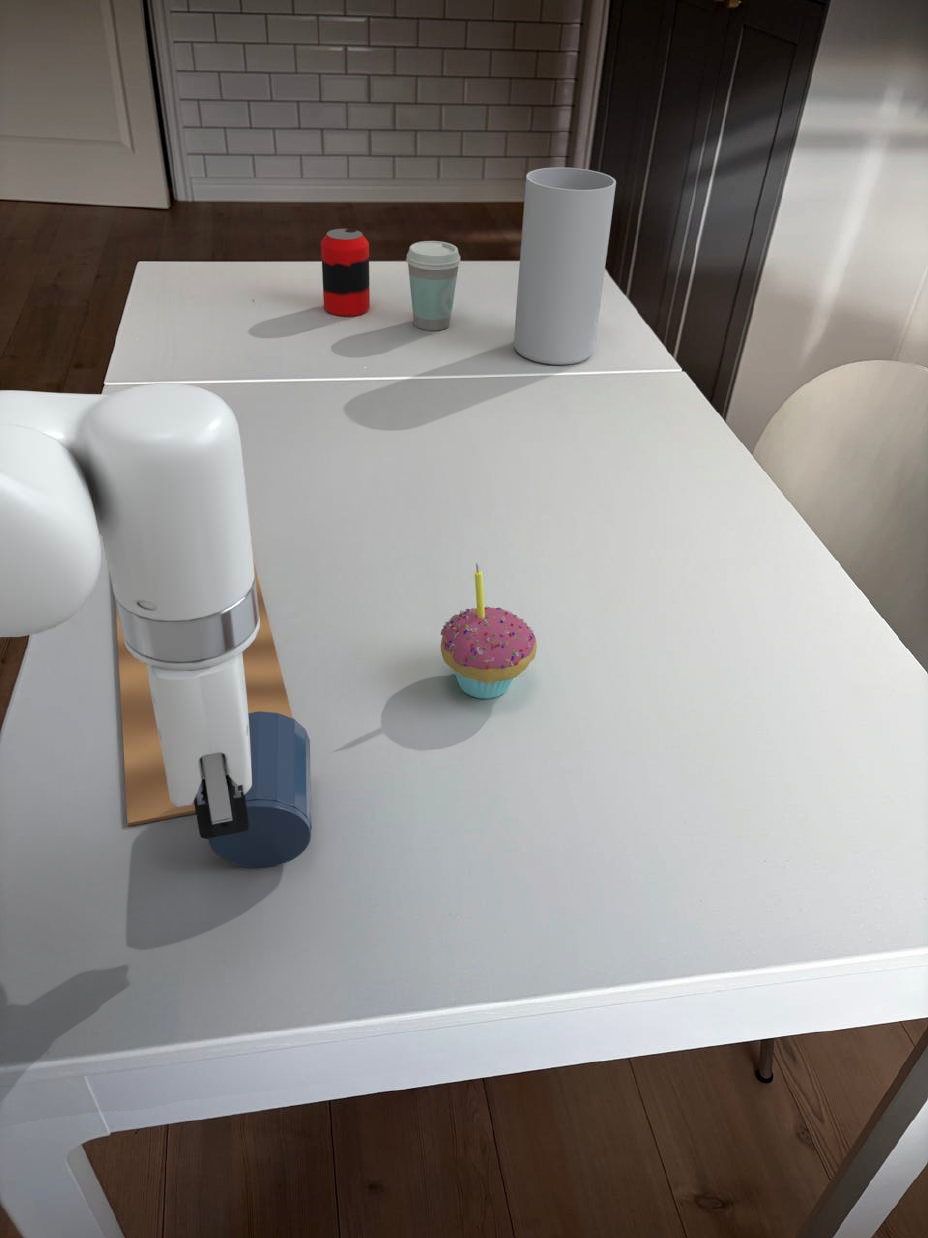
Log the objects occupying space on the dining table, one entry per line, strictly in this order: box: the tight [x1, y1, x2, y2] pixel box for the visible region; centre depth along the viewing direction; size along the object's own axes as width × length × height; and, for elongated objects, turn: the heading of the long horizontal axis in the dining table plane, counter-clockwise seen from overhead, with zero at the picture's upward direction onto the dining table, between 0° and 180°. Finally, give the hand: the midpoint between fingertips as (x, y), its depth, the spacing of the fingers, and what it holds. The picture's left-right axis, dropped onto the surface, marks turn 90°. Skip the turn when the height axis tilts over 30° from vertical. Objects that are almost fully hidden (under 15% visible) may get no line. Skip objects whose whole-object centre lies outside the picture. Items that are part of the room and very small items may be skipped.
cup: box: [207, 711, 313, 869], centre depth 74 cm, size 7×7×9 cm
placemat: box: [114, 560, 294, 827], centre depth 92 cm, size 40×14×1 cm, turn 17°
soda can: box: [320, 228, 371, 317], centre depth 160 cm, size 8×8×12 cm
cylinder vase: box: [513, 167, 617, 366], centre depth 146 cm, size 12×12×25 cm
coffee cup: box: [405, 240, 462, 332], centre depth 156 cm, size 8×9×12 cm
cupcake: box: [440, 562, 538, 700], centre depth 87 cm, size 9×8×12 cm
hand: (224, 826), depth 66 cm, fingers closed
